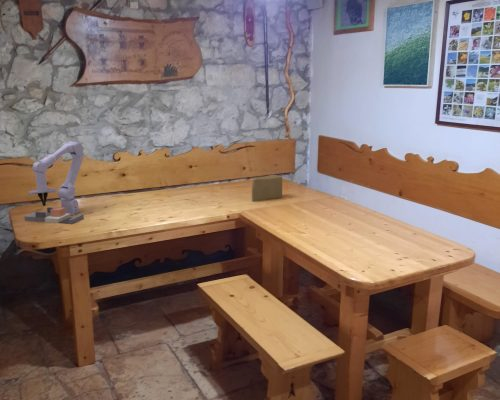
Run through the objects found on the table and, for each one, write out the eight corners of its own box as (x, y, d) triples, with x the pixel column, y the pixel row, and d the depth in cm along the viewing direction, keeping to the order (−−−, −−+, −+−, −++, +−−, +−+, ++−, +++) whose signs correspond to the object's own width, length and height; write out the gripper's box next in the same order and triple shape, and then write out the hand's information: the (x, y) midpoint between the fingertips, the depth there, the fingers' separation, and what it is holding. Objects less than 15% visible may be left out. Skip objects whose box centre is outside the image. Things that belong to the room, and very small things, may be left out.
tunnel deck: (83, 218, 296) (82, 209, 294) (71, 224, 285) (70, 214, 284) (38, 215, 305) (36, 206, 303) (24, 220, 294) (23, 211, 293)
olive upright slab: (256, 203, 325) (256, 180, 321) (248, 200, 332) (247, 178, 329) (283, 197, 338) (283, 175, 334) (273, 195, 345) (273, 173, 342)
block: (65, 213, 297) (65, 207, 296) (60, 216, 291) (59, 210, 290) (56, 213, 298) (55, 207, 297) (51, 216, 292) (50, 209, 291)
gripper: (54, 180, 297) (57, 202, 301) (28, 182, 292) (31, 205, 296) (54, 182, 291) (57, 205, 294) (27, 185, 286) (30, 208, 289)
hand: (44, 205), depth 295 cm, fingers closed
